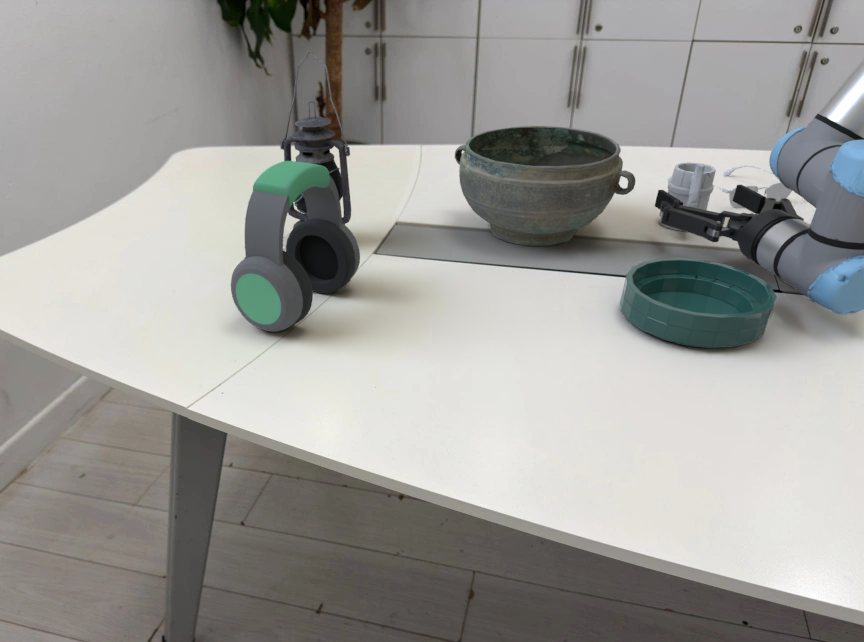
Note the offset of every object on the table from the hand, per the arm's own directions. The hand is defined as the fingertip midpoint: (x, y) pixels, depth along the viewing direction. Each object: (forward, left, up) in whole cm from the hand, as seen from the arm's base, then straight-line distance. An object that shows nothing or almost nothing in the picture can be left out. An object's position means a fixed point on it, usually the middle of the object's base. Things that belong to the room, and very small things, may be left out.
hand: (697, 195), depth 111 cm
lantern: (+52, +35, -7) cm, 63 cm away
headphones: (+40, +56, -7) cm, 69 cm away
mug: (+1, -2, -7) cm, 7 cm away
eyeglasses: (-2, -27, -7) cm, 28 cm away
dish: (-7, +32, -7) cm, 33 cm away
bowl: (+23, +12, -7) cm, 27 cm away
